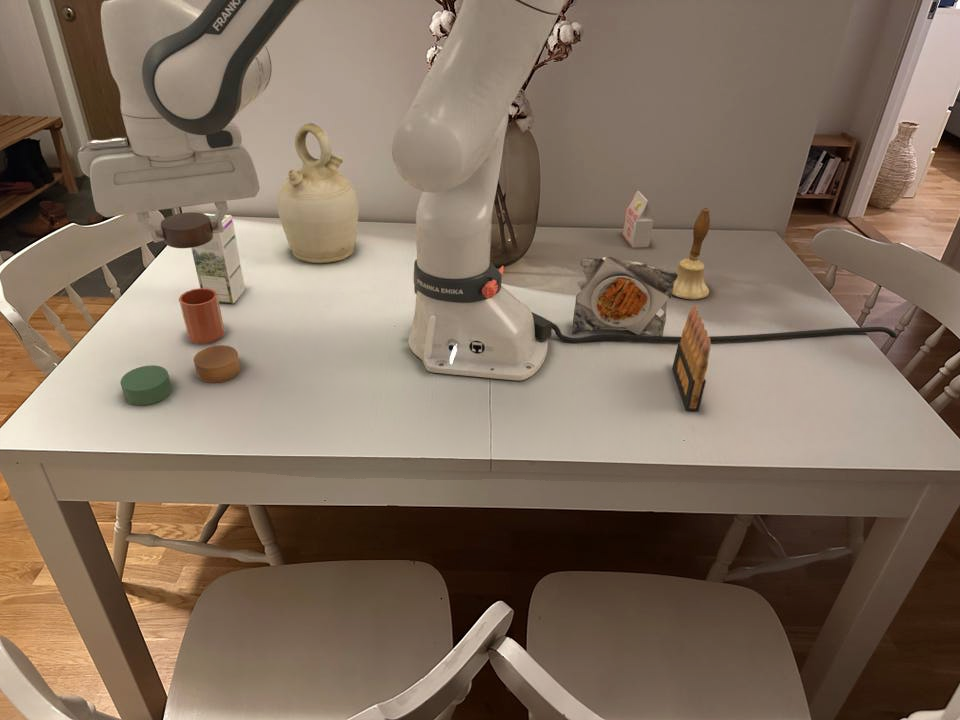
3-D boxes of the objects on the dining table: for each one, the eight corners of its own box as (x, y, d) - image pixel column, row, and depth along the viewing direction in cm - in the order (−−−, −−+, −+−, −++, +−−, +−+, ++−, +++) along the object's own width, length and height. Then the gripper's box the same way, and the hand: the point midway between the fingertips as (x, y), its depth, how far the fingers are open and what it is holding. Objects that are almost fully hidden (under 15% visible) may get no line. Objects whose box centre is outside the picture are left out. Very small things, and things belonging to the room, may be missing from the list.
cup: (231, 329, 113) (224, 291, 109) (210, 346, 108) (201, 307, 105) (203, 323, 114) (194, 285, 110) (181, 339, 110) (171, 301, 106)
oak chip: (248, 364, 105) (246, 349, 103) (224, 386, 100) (221, 372, 98) (214, 356, 106) (210, 341, 105) (188, 377, 101) (184, 363, 100)
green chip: (181, 384, 100) (177, 370, 98) (152, 409, 95) (147, 394, 93) (145, 376, 101) (141, 361, 100) (115, 400, 96) (110, 385, 95)
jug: (334, 229, 148) (323, 109, 134) (376, 253, 138) (369, 127, 124) (269, 247, 139) (250, 121, 125) (310, 275, 130) (294, 141, 116)
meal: (571, 336, 115) (580, 264, 107) (572, 323, 118) (581, 253, 111) (662, 346, 113) (678, 274, 105) (661, 332, 116) (676, 262, 109)
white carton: (638, 234, 151) (645, 190, 145) (648, 247, 145) (657, 201, 140) (622, 234, 150) (629, 190, 145) (632, 247, 145) (639, 202, 139)
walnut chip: (222, 233, 96) (219, 216, 94) (193, 251, 91) (189, 233, 89) (185, 227, 97) (181, 209, 96) (154, 244, 92) (150, 226, 91)
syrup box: (246, 289, 124) (233, 213, 116) (233, 305, 119) (218, 227, 111) (216, 286, 125) (200, 211, 117) (201, 302, 120) (184, 224, 112)
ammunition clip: (671, 368, 107) (687, 301, 101) (683, 369, 107) (699, 301, 101) (685, 410, 99) (703, 340, 92) (698, 411, 99) (717, 340, 92)
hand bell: (692, 277, 134) (710, 198, 125) (717, 296, 128) (738, 215, 119) (655, 282, 132) (671, 202, 123) (679, 302, 125) (697, 220, 116)
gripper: (73, 149, 80) (106, 258, 87) (253, 131, 88) (268, 232, 95) (72, 134, 84) (103, 239, 92) (243, 119, 92) (259, 216, 100)
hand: (189, 235), depth 94 cm, fingers closed on walnut chip, 6 cm apart
